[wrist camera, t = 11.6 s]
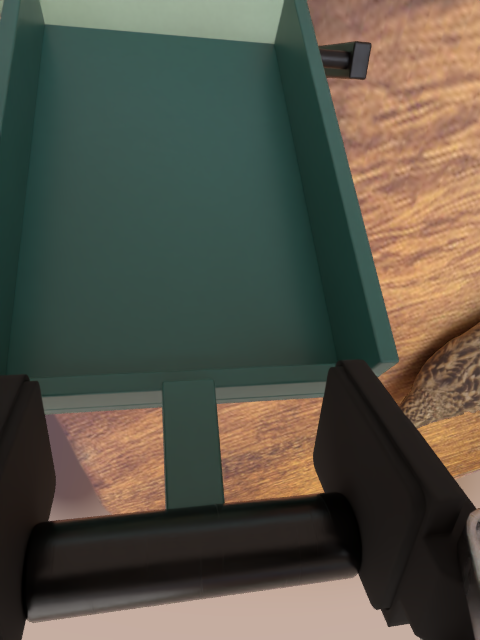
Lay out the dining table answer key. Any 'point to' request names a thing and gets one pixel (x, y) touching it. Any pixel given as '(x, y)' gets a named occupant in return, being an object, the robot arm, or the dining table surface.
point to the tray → (171, 17)
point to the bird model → (447, 382)
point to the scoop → (179, 288)
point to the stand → (346, 60)
